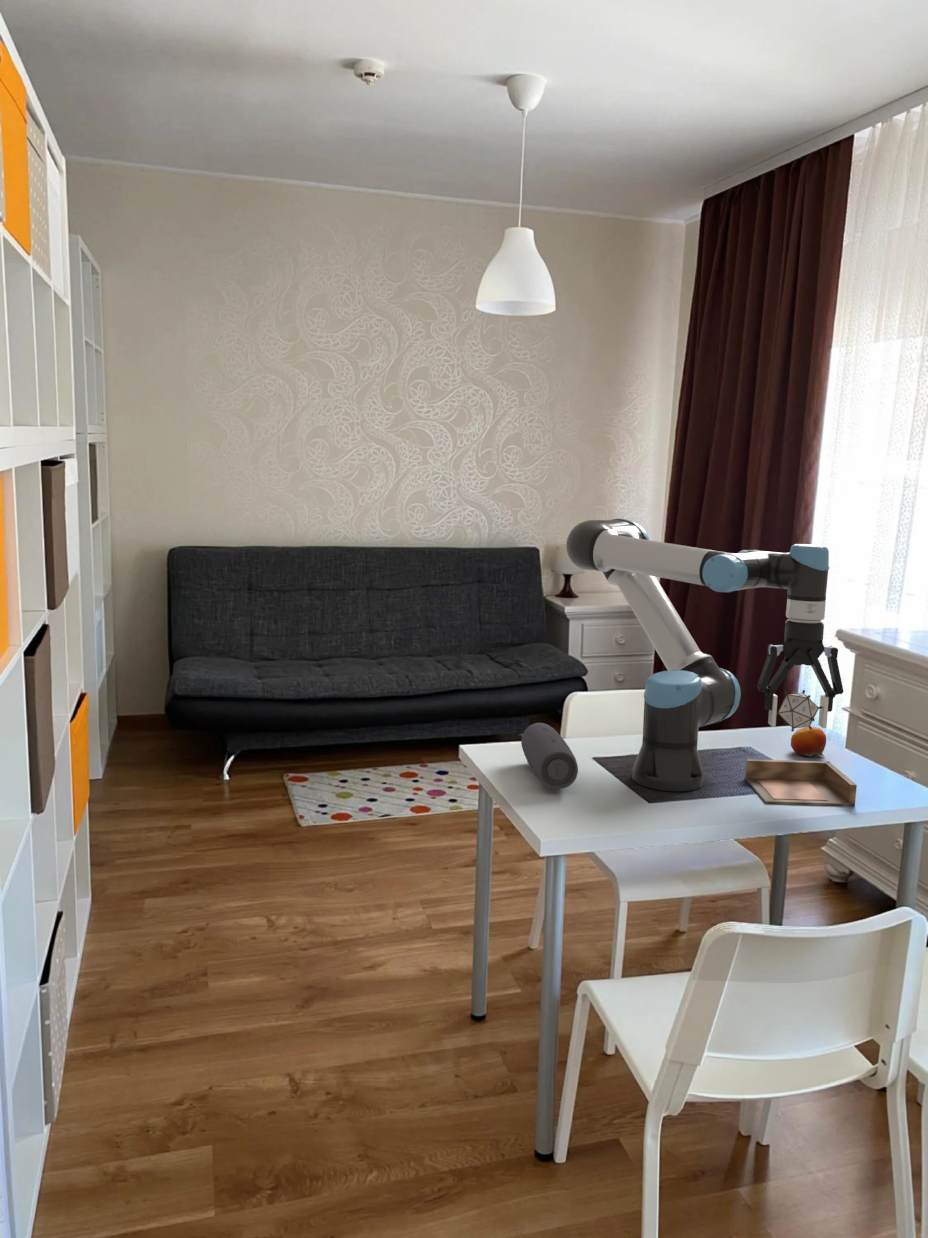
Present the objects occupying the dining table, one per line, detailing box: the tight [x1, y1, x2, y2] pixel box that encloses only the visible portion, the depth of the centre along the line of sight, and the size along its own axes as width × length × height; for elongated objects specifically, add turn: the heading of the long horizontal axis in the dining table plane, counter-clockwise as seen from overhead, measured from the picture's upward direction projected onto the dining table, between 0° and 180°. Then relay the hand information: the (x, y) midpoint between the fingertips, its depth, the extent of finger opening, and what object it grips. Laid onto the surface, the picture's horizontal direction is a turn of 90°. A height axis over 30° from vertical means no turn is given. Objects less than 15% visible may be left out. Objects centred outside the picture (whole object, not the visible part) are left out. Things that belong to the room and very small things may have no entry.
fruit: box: [790, 726, 827, 758], centre depth 232 cm, size 8×8×8 cm
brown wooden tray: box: [744, 758, 858, 807], centre depth 204 cm, size 18×16×4 cm
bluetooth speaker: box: [520, 722, 579, 790], centre depth 210 cm, size 23×9×10 cm, turn 6°
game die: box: [776, 689, 823, 733], centre depth 202 cm, size 9×8×10 cm
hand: (797, 725), depth 202 cm, fingers closed on game die, 10 cm apart
